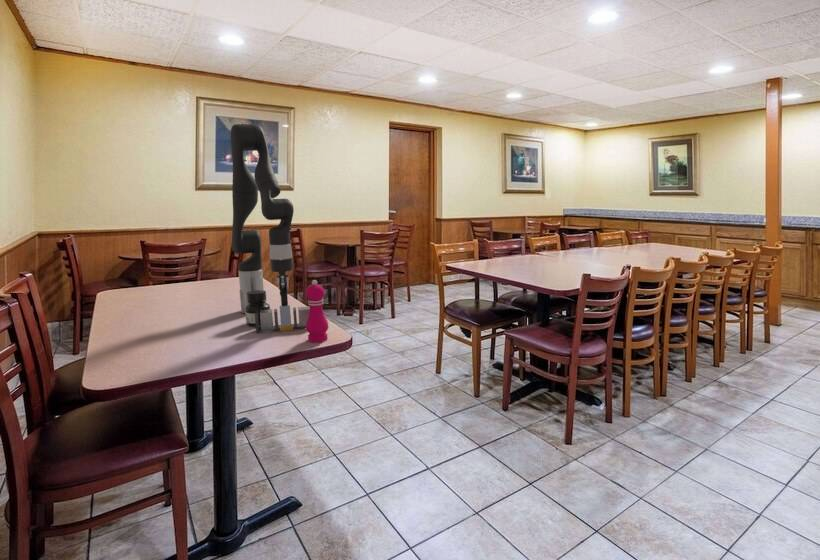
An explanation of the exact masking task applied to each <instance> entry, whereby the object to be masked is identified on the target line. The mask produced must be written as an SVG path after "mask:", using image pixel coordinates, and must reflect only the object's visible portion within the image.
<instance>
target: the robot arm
mask: <svg viewBox="0 0 820 560" xmlns="http://www.w3.org/2000/svg"><path fill="white" fill-rule="evenodd" d="M230 146H231V147H230V148H231V160H232V184H231V185H232V186H231V187H232V195H231V197H232V226H231V227H232V230H231V247H232V251H233V252H234V254H236V255H237V254H238V255H239V254H240V255H241V254H242V255H243V254H251V255H250V257H248V258H247V259H246V260H243V261H240V262H239V263H238V265H237V269H238V281H239V299H240V300H239V301H240V307H241V309H240V311H241V314H245V307H246V306H247V305H248V304H249V303H248V301H247V292H249V291H255V290H264V275H263V264H262V262H263V260H262V240H261V234H260V231H259V230H257V229H249V230H248V229H247V230H246V229H245V230H243V229H244V225H245V222H247V219H248V217H249V216H250V215H251V214H252V213H253V211H254V210H255V207H256V206H257V204H258V200H259V194H260V204H261V205H260V206H261V207H260V208H261V214H262V215H263V217H264V218H265V220H267V221H277V220H280V221H279V224H278V225H275V226H272V227H270V228H269V230H268V240H269V261H270V271H272V272H273V273H274V272H275V273H278V275H277V276H276V282H277V285H278V286H277V288H278V291H279V295H280V303H281V304H280V305H282V306H288V305H289V302H288V301H289V300H288V294H289V292H288V290H289V282H290V281H289V274H287V272H291V271H292V270H294V264H293V263H294V262H293V251H292V250H293V249H292V245H291V242H292V241H291V226H292V221H293V217H294V211H295V210H294V205H293V203H292V201H291V200H290V199H288V198H277V197H278V196H279V195H280V194H281V191H282V190H281V186H280V184H279V181H278V180H277V179H278V178H277V177H276V175H275V172H274V168H273V164H272V161H271V156H270V152H269V147H268V144H267V139H266V136H265V132H264V130H263V128H262V127H261V125H258V124H253V123H252V124H250V123H249V124H247V123H241V124H240V123H239V124H237V123H236V124H233V125H232V126H231V128H230ZM252 151H253V152H254V151H256V152H257V154H258V160H257V164H256V166H255V169H254V174H252V172H251V171H250V170H249V168H248V166H247V163H246V162H245V157H244V152H252ZM264 291H265V290H264Z"/></svg>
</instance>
